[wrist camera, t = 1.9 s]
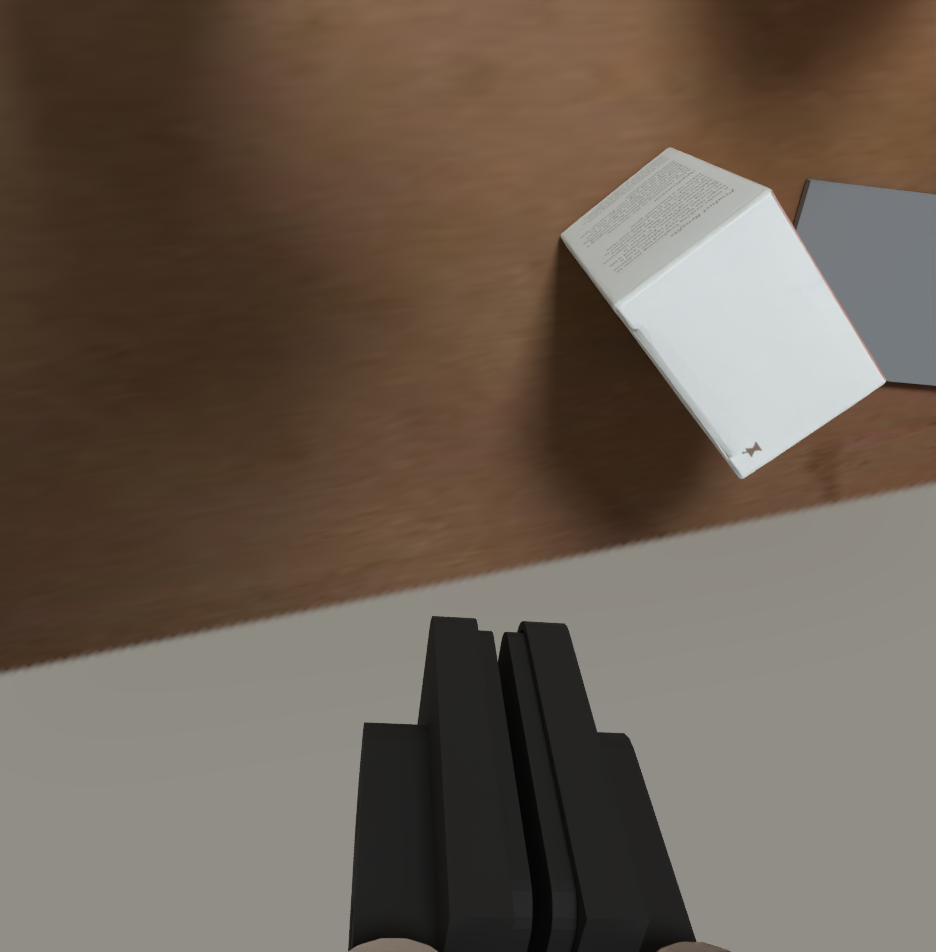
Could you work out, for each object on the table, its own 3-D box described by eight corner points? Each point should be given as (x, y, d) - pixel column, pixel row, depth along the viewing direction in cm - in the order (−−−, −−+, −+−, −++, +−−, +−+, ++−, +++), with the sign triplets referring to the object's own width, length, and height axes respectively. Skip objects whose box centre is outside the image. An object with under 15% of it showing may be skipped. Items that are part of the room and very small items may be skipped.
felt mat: (806, 178, 34) (810, 180, 34) (1076, 211, 35) (1083, 213, 35) (752, 365, 38) (755, 369, 37) (999, 388, 39) (1004, 392, 39)
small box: (768, 295, 36) (895, 386, 27) (659, 374, 38) (744, 487, 28) (669, 139, 33) (775, 183, 24) (554, 232, 34) (612, 307, 25)
